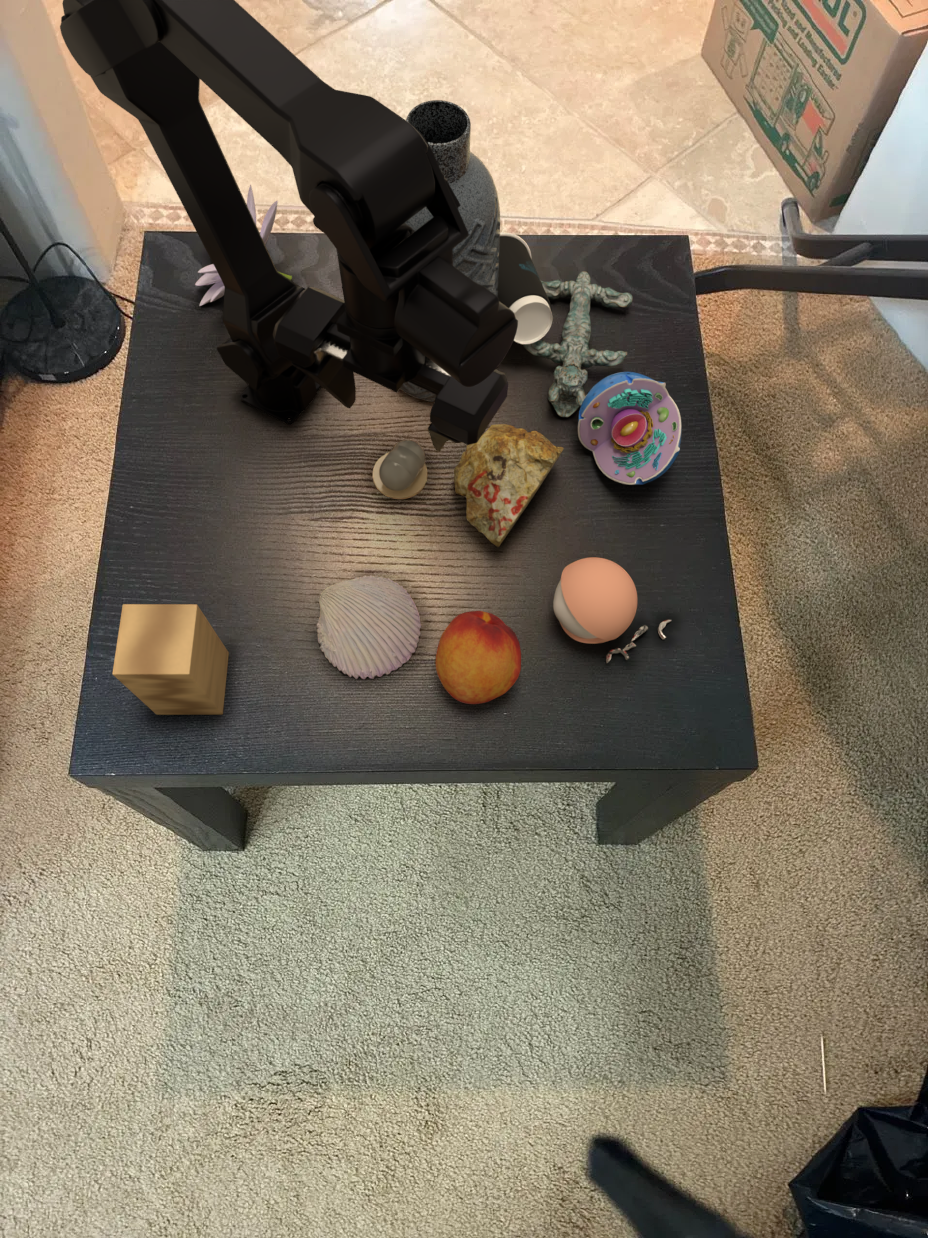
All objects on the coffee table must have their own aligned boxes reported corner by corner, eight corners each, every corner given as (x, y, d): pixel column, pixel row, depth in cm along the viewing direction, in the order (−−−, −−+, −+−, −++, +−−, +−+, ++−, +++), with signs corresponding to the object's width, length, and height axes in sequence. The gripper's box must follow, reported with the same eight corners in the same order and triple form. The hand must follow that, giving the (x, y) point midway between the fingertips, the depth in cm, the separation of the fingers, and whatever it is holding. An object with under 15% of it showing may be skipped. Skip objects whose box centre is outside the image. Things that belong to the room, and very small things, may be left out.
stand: (156, 715, 79) (111, 674, 68) (164, 652, 81) (122, 603, 70) (223, 714, 79) (189, 674, 68) (229, 652, 81) (197, 603, 70)
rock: (505, 551, 91) (510, 554, 81) (432, 511, 91) (428, 510, 81) (560, 450, 90) (571, 441, 80) (486, 410, 90) (488, 396, 80)
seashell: (347, 542, 82) (433, 583, 79) (361, 573, 87) (443, 613, 83) (281, 625, 79) (369, 673, 75) (300, 653, 83) (383, 699, 80)
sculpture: (508, 416, 91) (513, 381, 87) (531, 291, 101) (536, 254, 97) (615, 432, 91) (625, 398, 87) (628, 305, 100) (637, 269, 96)
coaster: (362, 484, 88) (361, 481, 88) (390, 443, 90) (390, 441, 90) (409, 508, 87) (409, 506, 87) (437, 467, 89) (437, 464, 89)
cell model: (633, 520, 88) (582, 477, 81) (596, 440, 95) (547, 395, 88) (719, 462, 84) (673, 411, 77) (674, 383, 90) (628, 330, 84)
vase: (412, 299, 97) (402, 50, 71) (512, 337, 96) (539, 97, 69) (362, 379, 93) (332, 146, 67) (465, 421, 91) (476, 199, 65)
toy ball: (537, 588, 84) (546, 551, 77) (612, 571, 85) (629, 533, 78) (561, 664, 81) (573, 633, 74) (639, 645, 82) (658, 613, 75)
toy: (680, 629, 82) (668, 611, 83) (612, 667, 80) (600, 647, 81) (675, 633, 84) (663, 615, 84) (608, 670, 81) (596, 651, 82)
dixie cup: (497, 366, 91) (466, 308, 98) (568, 344, 92) (533, 288, 98) (489, 300, 85) (457, 243, 91) (566, 277, 85) (528, 222, 92)
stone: (400, 503, 88) (406, 489, 84) (369, 483, 87) (375, 468, 84) (428, 462, 89) (435, 446, 86) (398, 442, 89) (404, 426, 86)
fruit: (536, 667, 81) (546, 636, 74) (479, 730, 79) (484, 704, 72) (473, 615, 83) (476, 580, 76) (415, 675, 81) (413, 644, 73)
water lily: (312, 200, 99) (242, 153, 94) (336, 255, 90) (259, 206, 84) (249, 305, 106) (180, 266, 100) (264, 367, 96) (188, 328, 91)
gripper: (549, 272, 64) (530, 402, 78) (333, 179, 67) (353, 321, 82) (477, 380, 60) (471, 496, 75) (251, 276, 63) (287, 407, 78)
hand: (395, 425), depth 77 cm, fingers open, 9 cm apart
